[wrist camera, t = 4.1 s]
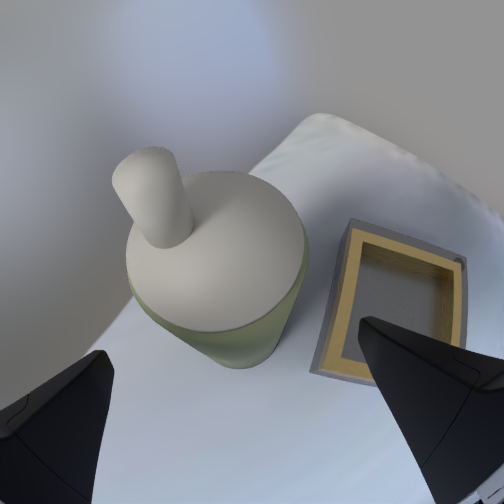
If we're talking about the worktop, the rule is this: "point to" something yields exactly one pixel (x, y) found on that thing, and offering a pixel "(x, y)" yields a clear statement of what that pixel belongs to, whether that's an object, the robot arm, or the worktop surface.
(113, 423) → the worktop surface
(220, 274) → the green and white bottle
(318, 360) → the grey and tan tray
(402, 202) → the worktop surface
